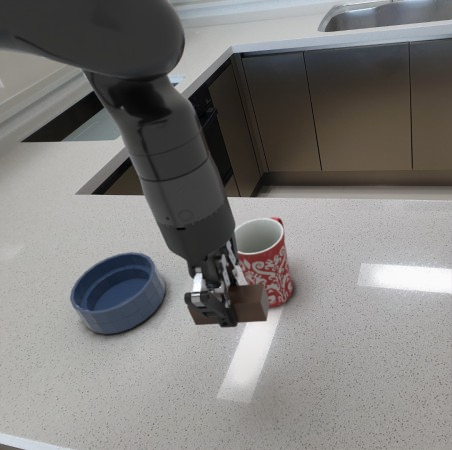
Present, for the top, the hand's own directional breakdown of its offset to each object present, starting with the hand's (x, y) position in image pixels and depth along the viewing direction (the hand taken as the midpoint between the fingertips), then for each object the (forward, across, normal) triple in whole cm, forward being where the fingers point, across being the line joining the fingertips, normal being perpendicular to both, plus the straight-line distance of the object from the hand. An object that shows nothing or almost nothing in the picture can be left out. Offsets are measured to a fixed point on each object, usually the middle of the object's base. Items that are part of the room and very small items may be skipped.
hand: (232, 313), depth 57 cm
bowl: (+17, -19, -29) cm, 39 cm away
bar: (0, 0, 0) cm, 0 cm away
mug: (+17, -21, 0) cm, 27 cm away
